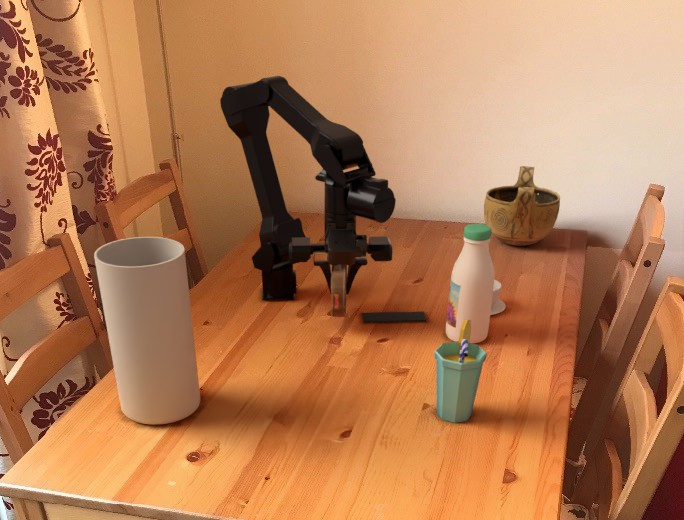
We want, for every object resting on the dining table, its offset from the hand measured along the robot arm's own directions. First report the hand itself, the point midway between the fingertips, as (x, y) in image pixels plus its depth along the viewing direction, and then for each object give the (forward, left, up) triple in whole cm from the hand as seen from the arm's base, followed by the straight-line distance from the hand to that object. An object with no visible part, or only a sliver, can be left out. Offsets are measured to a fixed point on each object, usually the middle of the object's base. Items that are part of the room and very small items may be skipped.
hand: (339, 293), depth 150 cm
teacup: (+28, +4, -5) cm, 29 cm away
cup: (+16, -38, -5) cm, 41 cm away
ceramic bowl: (+44, +42, -5) cm, 61 cm away
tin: (0, 0, -3) cm, 3 cm away
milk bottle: (+23, -9, -5) cm, 25 cm away
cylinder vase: (-30, -33, -5) cm, 45 cm away
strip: (+11, 0, -5) cm, 12 cm away
